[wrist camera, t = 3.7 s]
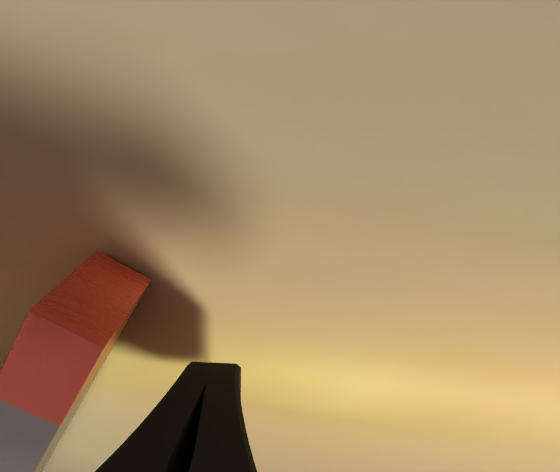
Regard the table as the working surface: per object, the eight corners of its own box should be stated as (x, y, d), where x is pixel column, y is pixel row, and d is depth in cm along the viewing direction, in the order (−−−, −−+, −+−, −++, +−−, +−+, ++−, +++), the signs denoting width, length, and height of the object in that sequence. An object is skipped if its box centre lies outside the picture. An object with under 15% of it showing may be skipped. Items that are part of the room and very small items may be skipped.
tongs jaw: (13, 519, 14) (-52, 623, 12) (-30, 503, 14) (-107, 606, 11) (151, 279, 11) (104, 347, 8) (97, 250, 10) (28, 311, 8)
